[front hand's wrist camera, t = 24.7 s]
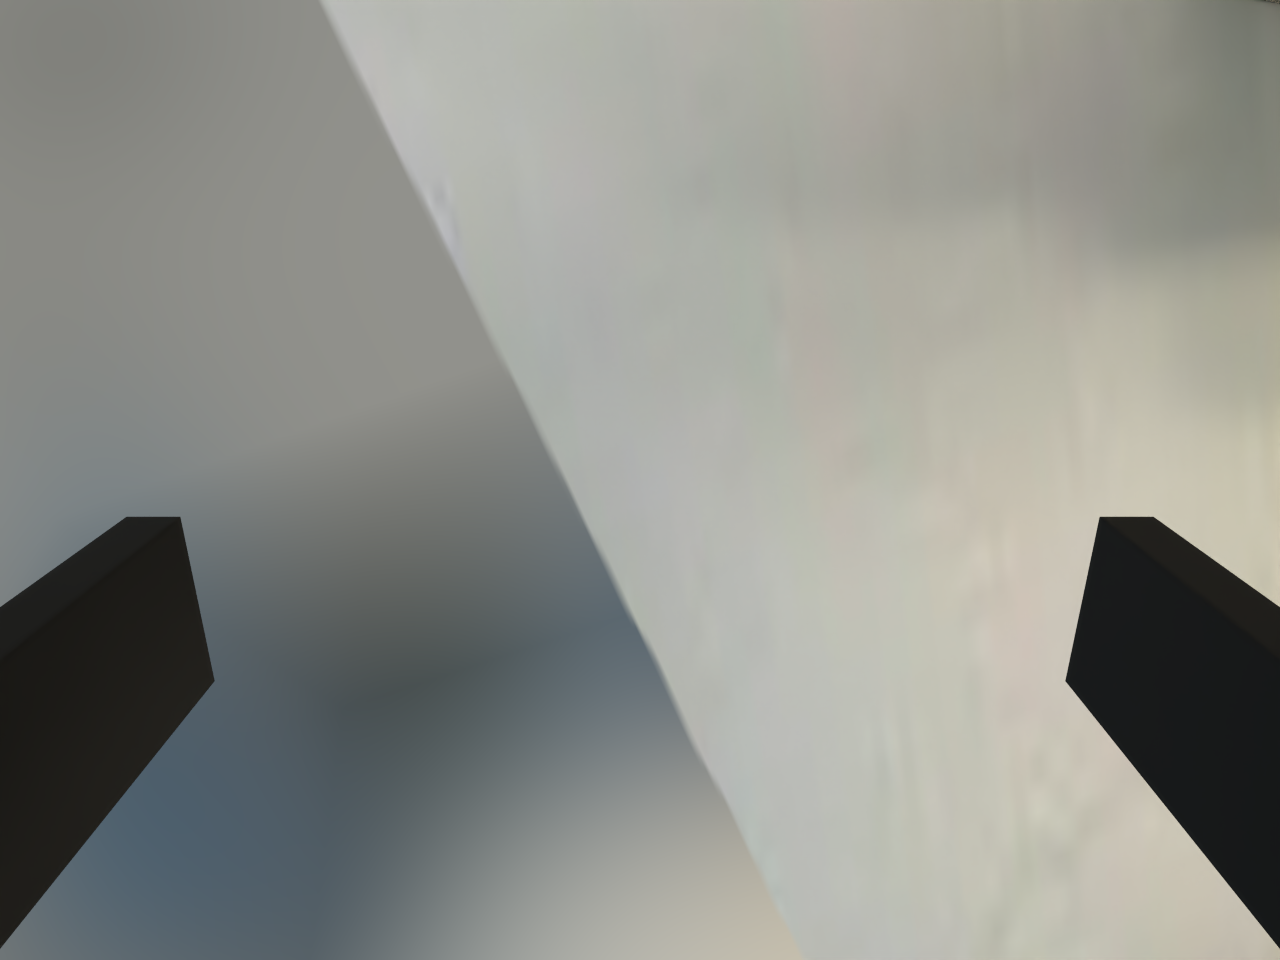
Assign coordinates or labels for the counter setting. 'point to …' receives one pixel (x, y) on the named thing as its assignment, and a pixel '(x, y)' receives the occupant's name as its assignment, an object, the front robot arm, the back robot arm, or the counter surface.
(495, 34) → the counter surface
